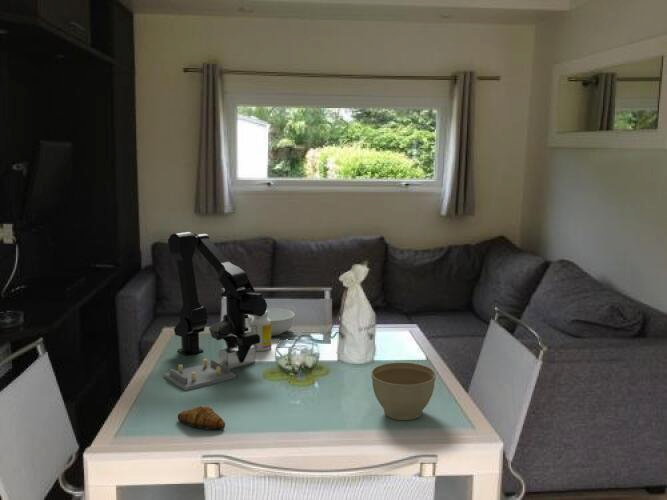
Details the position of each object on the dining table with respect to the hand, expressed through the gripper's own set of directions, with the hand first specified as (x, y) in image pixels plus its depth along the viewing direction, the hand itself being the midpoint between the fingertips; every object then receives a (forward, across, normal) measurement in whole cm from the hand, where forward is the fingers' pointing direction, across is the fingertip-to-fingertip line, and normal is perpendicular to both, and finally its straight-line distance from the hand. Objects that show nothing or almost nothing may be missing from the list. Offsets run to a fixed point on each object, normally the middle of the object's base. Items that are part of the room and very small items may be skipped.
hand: (237, 360), depth 204 cm
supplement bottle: (+1, -8, +14) cm, 16 cm away
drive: (+1, 0, 0) cm, 1 cm away
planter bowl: (+1, +60, +13) cm, 61 cm away
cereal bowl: (+1, -22, +27) cm, 35 cm away
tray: (+1, +4, -15) cm, 16 cm away
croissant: (+1, +34, -30) cm, 45 cm away
